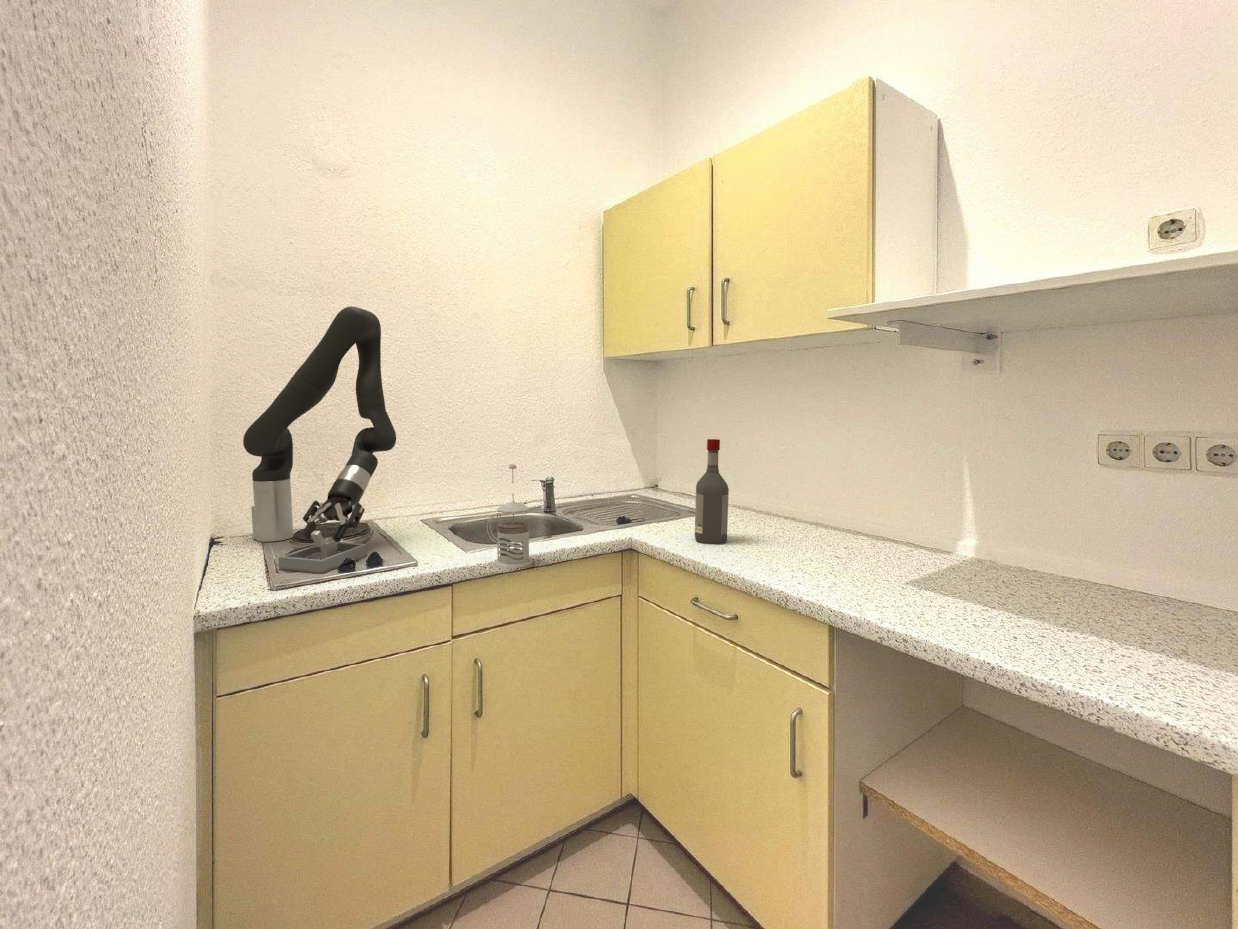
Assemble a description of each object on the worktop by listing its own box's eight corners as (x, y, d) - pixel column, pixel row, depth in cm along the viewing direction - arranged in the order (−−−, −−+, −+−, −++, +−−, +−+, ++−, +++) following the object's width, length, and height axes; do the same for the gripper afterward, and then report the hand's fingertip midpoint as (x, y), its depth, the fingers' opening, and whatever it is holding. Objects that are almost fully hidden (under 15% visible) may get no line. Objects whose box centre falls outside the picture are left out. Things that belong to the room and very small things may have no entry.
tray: (279, 569, 133) (278, 557, 133) (327, 552, 149) (327, 541, 148) (322, 573, 131) (322, 561, 130) (367, 555, 146) (367, 544, 146)
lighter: (332, 556, 143) (331, 525, 143) (338, 556, 143) (336, 525, 142) (311, 563, 137) (310, 531, 136) (317, 564, 136) (316, 532, 135)
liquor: (724, 537, 171) (728, 438, 168) (727, 544, 162) (731, 440, 159) (694, 536, 172) (697, 438, 168) (695, 543, 163) (698, 440, 159)
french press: (525, 569, 136) (524, 466, 133) (480, 566, 138) (478, 465, 136) (538, 558, 146) (538, 462, 143) (496, 555, 148) (495, 460, 145)
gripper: (318, 476, 146) (286, 529, 136) (366, 478, 143) (337, 533, 133) (334, 493, 152) (304, 545, 142) (380, 496, 149) (353, 549, 139)
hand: (320, 539), depth 138 cm, fingers open, 8 cm apart
